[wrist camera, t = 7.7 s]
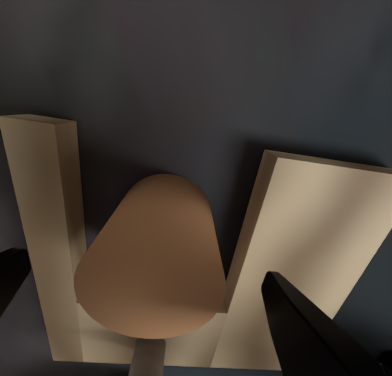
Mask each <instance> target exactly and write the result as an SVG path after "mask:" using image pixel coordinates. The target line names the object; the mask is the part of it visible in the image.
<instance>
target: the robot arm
mask: <svg viewBox="0 0 392 376" xmlns="http://www.w3.org/2000/svg"><path fill="white" fill-rule="evenodd" d="M30 270H31V262H30V258H29V254H28V251H27V250H26V249H24V248H11V249H8V250H6V251H3V252H1V253H0V317H1V316H2V314H3V313H4V311H5V310H6V308H7V307H8V305H9V304H10V302H11V301H12V299H13V297H14V296H15V294H16V293H17V291H18V290H19V288H20V287H21V285H22V283H23V282H24V280H25V279H26V277H27V276H28V274H29V272H30ZM261 293H262V297H263V302H264V307H265V311H266V316H267V321H268V326H269V330H270V334H271V338H272V341H273V344H274V348H275V351H276V354H277V357H278V361H279V364H280V367H281V370H282V373H283V376H392V354H386V355H384V356H383V357H382V358H381V359H380V360H379V361H378V360H377V359H376V358H375V357H374V356H372V355H371V354H370V353H369V352H368V351H367V350H366V349H365V348H363V347H362V346H361V345H360V344H359V343H358V342H357V341H356V340H354V339H353V338H352V337H351V336H350V335H349V334H348V333H347V332H345V331H344V330H343V329H342V328H341V327H340V326H339V325H338V324H336V323H335V322H334V321H333V320H332V319H331V318H330V317H329V316H327V315H326V314H325V313H324V312H323V311H322V310H321V309H320V308H318V307H317V306H316V305H315V304H314V303H313V302H312V301H311V300H309V299H308V298H307V297H306V296H305V295H304V294H303V293H302V292H300V291H299V290H298V289H297V288H296V287H295V286H294V285H293V284H291V283H290V282H289V281H288V280H287V279H286V278H285V277H284V276H282V275H281V274H280V273H279V272H277V271H267V273H266V275H265V277H264V280H263V282H262V285H261Z"/></svg>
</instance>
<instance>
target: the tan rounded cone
mask: <svg viewBox="0 0 392 376" xmlns="http://www.w3.org/2000/svg"><path fill="white" fill-rule="evenodd" d="M74 290H75V294H76V297H77V299H78V302H79V303H80V305H81V306H82V308H83V309H84V310H85V312H86V313H87V314H88V315H89V316H90V317H91V318H92V319H94V320H95V321H96V322H98V323H99V324H101V325H102V326H104V327H106V328H108V329H110V330H112V331H114V332H117V333H120V334H123V335H127V336H130V337H136V338H144V339H164V338H171V337H176V336H180V335H184V334H186V333H189V332H192V331H194V330H196V329H198V328H200V327H201V326H203V325H204V324H206V323H207V322H209V321H210V320H211V319H212V318H213V317H214V316H215V315H216V313H217V312H218V311H219V309H220V308H221V306H222V304H223V302H224V299H225V294H226V281H225V275H224V270H223V266H222V261H221V256H220V251H219V247H218V242H217V237H216V232H215V228H214V223H213V218H212V213H211V209H210V204H209V201H208V199H207V197H206V195H205V194H204V192H203V191H202V190H201V189H200V188H199V187H198V186H197V185H196V184H195V183H193V182H192V181H190V180H188V179H186V178H184V177H181V176H178V175H173V174H157V175H152V176H149V177H146V178H144V179H142V180H140V181H138V182H137V183H136V184H135V185H133V186H132V187H131V189H130V190H129V191H128V192H127V194H126V195H125V197H124V198H123V200H122V201H121V202H120V204H119V205H118V207H117V208H116V210H115V211H114V213H113V214H112V215H111V217H110V218H109V220H108V221H107V223H106V224H105V226H104V227H103V229H102V230H101V231H100V233H99V234H98V236H97V237H96V239H95V240H94V242H93V243H92V244H91V246H90V247H89V249H88V250H87V252H86V253H85V255H84V256H83V257H82V259H81V261H80V262H79V264H78V266H77V268H76V271H75V275H74Z"/></svg>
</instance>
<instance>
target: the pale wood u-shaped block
mask: <svg viewBox="0 0 392 376" xmlns="http://www.w3.org/2000/svg"><path fill="white" fill-rule="evenodd" d="M0 129H1V133H2V137H3V142H4V146H5V151H6V155H7V159H8V164H9V168H10V173H11V177H12V181H13V186H14V190H15V195H16V199H17V203H18V208H19V212H20V216H21V221H22V225H23V230H24V234H25V238H26V243H27V247H28V252H29V256H30V260H31V265H32V269H33V274H34V278H35V282H36V287H37V291H38V296H39V300H40V304H41V309H42V313H43V318H44V322H45V326H46V331H47V335H48V340H49V344H50V348H51V353H52V357H53V361H73V362H96V363H120V364H131V366H130V371H129V375H128V376H163V370H164V365H167V366H191V367H214V368H238V369H262V370H281V367H280V364H279V361H278V357H277V354H276V351H275V348H274V344H273V341H272V338H271V334H270V330H269V326H268V321H267V316H266V311H265V307H264V302H263V297H262V293H261V285H262V282H263V280H264V277H265V275H266V273H267V271H277V272H279V273H280V274H281V275H282V276H284V277H285V278H286V279H287V280H288V281H289V282H290V283H291V284H293V285H294V286H295V287H296V288H297V289H298V290H299V291H300V292H302V293H303V294H304V295H305V296H306V297H307V298H308V299H309V300H311V301H312V302H313V303H314V304H315V305H316V306H317V307H318V308H320V309H321V310H322V311H323V312H324V313H325V314H326V315H327V316H329V317H330V318H331V319H333V318H334V316H335V315H336V313H337V312H338V310H339V308H340V307H341V305H342V304H343V302H344V301H345V299H346V298H347V296H348V295H349V293H350V291H351V290H352V288H353V287H354V285H355V284H356V282H357V281H358V279H359V278H360V276H361V274H362V273H363V271H364V270H365V268H366V267H367V265H368V264H369V262H370V261H371V259H372V257H373V256H374V254H375V253H376V251H377V250H378V248H379V247H380V245H381V243H382V242H383V240H384V239H385V237H386V236H387V234H388V233H389V231H390V230H391V228H392V169H391V168H385V167H378V166H371V165H365V164H358V163H351V162H345V161H338V160H331V159H325V158H318V157H312V156H305V155H298V154H292V153H285V152H278V151H272V150H265V149H264V153H263V156H262V160H261V163H260V166H259V170H258V173H257V177H256V180H255V184H254V187H253V190H252V194H251V197H250V201H249V204H248V208H247V211H246V215H245V218H244V221H243V225H242V228H241V232H240V235H239V239H238V242H237V246H236V249H235V252H234V256H233V259H232V263H231V266H230V270H229V273H228V276H227V280H226V294H225V299H224V302H223V304H222V306H221V308H220V309H219V311H218V312H217V313H216V315H215V316H214V317H213V318H212V319H211V320H210V321H209V322H207V323H206V324H204V325H203V326H201V327H200V328H198V329H196V330H194V331H192V332H189V333H186V334H184V335H180V336H176V337H171V338H164V339H144V338H136V337H130V336H127V335H123V334H120V333H117V332H114V331H112V330H110V329H108V328H106V327H104V326H102V325H101V324H99V323H98V322H96V321H95V320H94V319H92V318H91V317H90V316H89V315H88V314H87V313H86V312H85V310H84V309H83V308H82V306H81V305H80V303H79V302H78V299H77V297H76V294H75V290H74V275H75V271H76V268H77V266H78V264H79V262H80V261H81V259H82V257H83V256H84V255H85V253H86V252H87V247H86V235H85V222H84V210H83V198H82V185H81V173H80V160H79V148H78V136H77V123H76V121H73V120H66V119H59V118H53V117H46V116H39V115H33V114H23V115H7V116H0Z"/></svg>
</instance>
